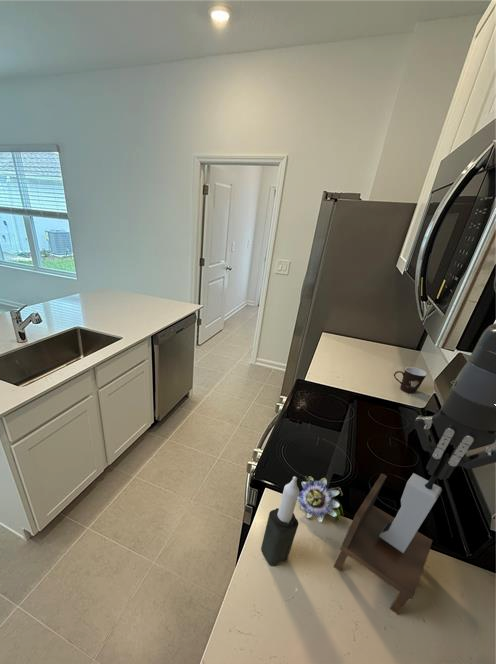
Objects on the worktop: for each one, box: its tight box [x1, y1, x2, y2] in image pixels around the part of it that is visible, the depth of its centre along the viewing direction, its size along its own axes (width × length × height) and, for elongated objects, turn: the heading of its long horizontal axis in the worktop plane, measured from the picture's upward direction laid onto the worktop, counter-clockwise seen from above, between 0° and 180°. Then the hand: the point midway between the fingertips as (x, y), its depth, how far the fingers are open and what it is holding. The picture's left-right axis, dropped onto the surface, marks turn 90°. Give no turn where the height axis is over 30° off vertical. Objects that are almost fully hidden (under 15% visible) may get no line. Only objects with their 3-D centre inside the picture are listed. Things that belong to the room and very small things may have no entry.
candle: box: [260, 475, 300, 567], centre depth 65 cm, size 5×5×25 cm
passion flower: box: [297, 475, 344, 523], centre depth 81 cm, size 11×11×12 cm
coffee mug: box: [393, 366, 428, 395], centre depth 142 cm, size 12×9×10 cm
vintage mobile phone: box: [379, 452, 450, 553], centre depth 59 cm, size 4×5×25 cm
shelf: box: [333, 473, 433, 615], centre depth 66 cm, size 16×14×18 cm
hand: (435, 474), depth 55 cm, fingers closed on vintage mobile phone, 1 cm apart
